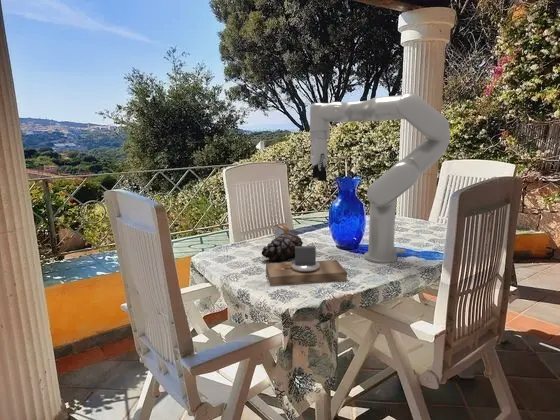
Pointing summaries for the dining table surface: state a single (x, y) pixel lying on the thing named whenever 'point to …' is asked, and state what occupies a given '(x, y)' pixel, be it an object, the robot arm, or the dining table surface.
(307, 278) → the brown wooden board
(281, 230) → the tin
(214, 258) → the dining table surface
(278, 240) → the pine cone
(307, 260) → the dial knob
